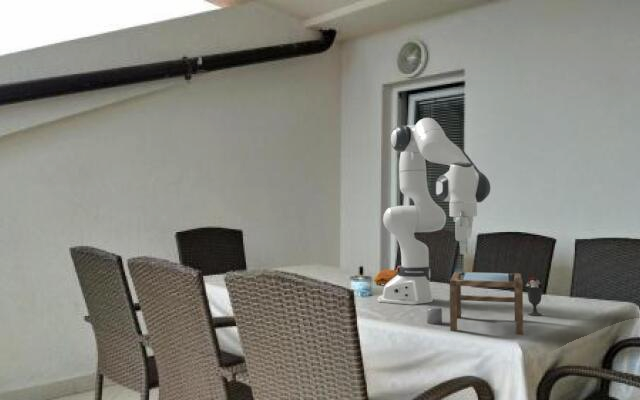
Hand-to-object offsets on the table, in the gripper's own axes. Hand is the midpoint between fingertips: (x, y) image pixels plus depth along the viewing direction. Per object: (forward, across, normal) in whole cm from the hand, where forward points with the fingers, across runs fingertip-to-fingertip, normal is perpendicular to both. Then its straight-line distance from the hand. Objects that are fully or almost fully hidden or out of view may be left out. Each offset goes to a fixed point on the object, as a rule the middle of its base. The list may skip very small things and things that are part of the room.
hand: (463, 253), depth 195 cm
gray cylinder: (+24, +3, +10) cm, 26 cm away
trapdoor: (+10, +5, -7) cm, 13 cm away
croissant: (+22, +86, +42) cm, 98 cm away
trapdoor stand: (+24, +4, -7) cm, 25 cm away
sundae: (+24, +25, -22) cm, 41 cm away
